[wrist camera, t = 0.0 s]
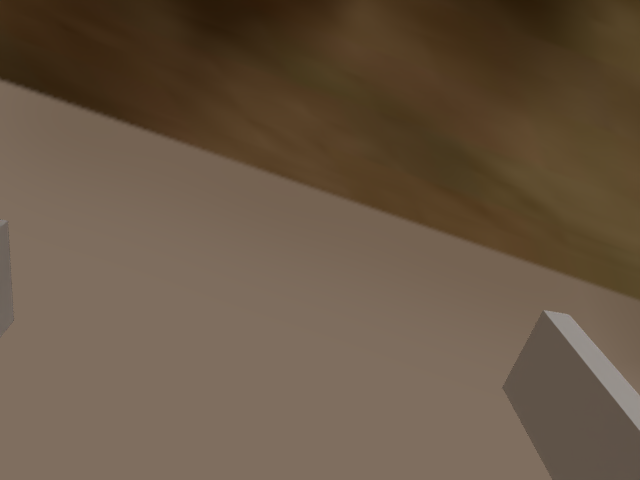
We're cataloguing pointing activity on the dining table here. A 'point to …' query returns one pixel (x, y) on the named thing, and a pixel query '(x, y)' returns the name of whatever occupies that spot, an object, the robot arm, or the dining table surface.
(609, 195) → the dining table surface
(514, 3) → the dining table surface
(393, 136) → the dining table surface
